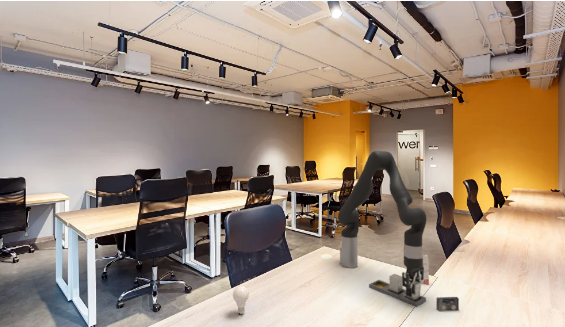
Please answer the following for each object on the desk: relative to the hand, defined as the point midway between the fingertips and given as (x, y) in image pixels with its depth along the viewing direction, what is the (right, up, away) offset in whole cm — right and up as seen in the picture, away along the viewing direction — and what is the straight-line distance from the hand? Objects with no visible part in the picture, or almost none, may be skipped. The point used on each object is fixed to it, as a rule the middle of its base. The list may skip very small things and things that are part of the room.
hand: (413, 293), depth 120 cm
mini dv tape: (+10, -5, -7) cm, 13 cm away
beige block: (-5, -3, +6) cm, 9 cm away
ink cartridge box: (+11, -4, +19) cm, 22 cm away
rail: (-5, -4, +6) cm, 9 cm away
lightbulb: (-73, -5, -7) cm, 73 cm away
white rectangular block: (0, -3, 0) cm, 3 cm away
